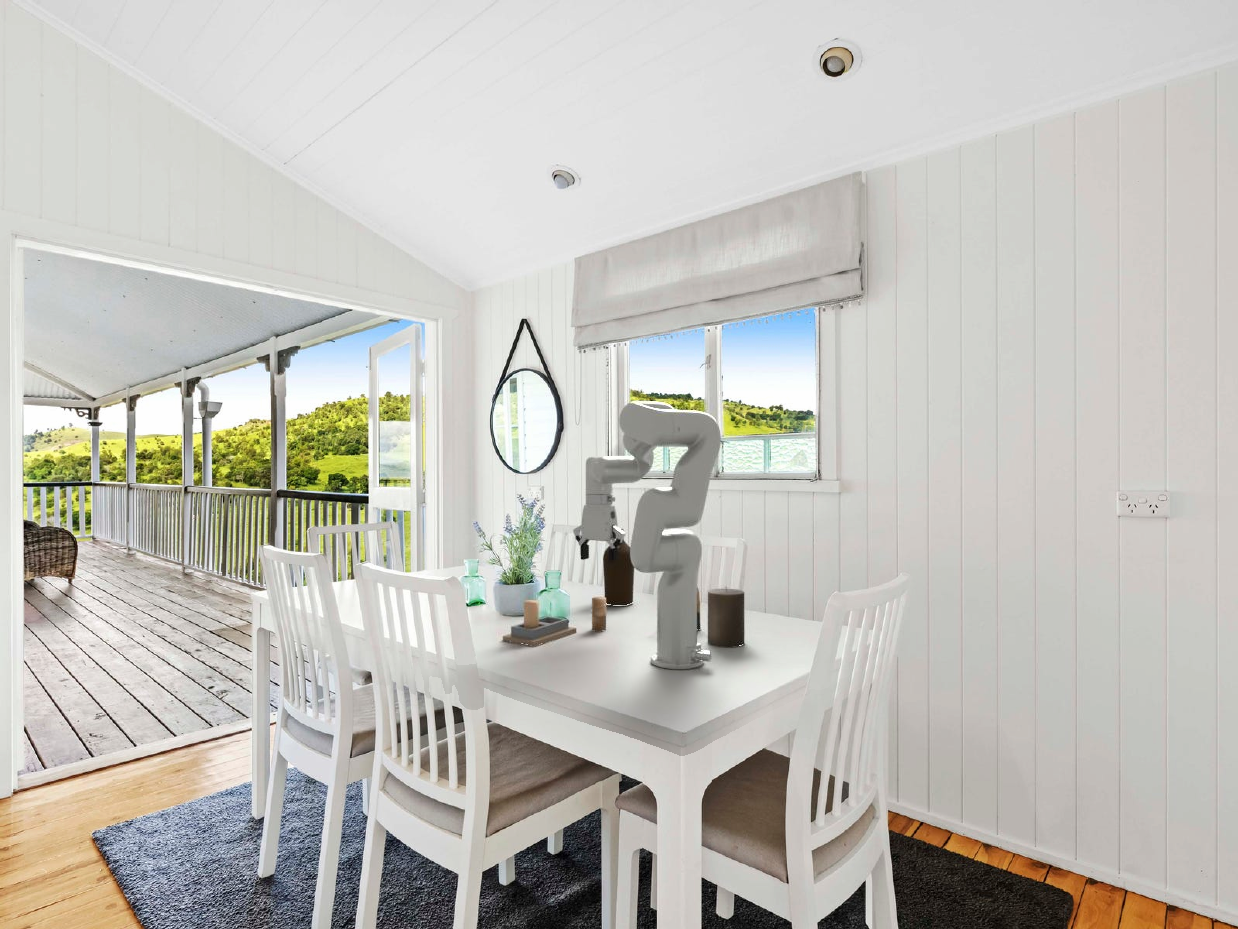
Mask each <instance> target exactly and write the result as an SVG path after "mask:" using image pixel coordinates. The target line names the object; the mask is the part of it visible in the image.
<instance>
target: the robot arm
mask: <svg viewBox="0 0 1238 929" xmlns="http://www.w3.org/2000/svg"><path fill="white" fill-rule="evenodd" d="M618 420H619V421H618V422H619V424H618V425H619V427H620V430H621V432H623V436H622V443H623V446H624V449H625V451H627V452H628V453H629V455H624V456H623V455H613V456H612V455H609V456H608V455H605V456H590V457H588V458H586V460H585V504H584V505H583V508H582V514H581V521H580V522H581V523H580V525H579V526H577V527H575V528H573V529H572V531H573V534H574V536H575V540H576V541H577V542H578V546H580V547H579V548H580V550H579V552H580V554H579V555H580V560H582V561H585V560H588V559H589V558H590V545H589V544H588V543H589V542H590V541H598V542H599V541H600V542H607V544H608V547H609V546H610V547H611V548H609V563H613V562H616V561H617V548H618V547H619V545H620V544H621V543H622V542H623V539H624V540H625V537H626V533H625V532H624V531H622V530H620V529H621V528H619V526H618V517H617V509H616V506H615V505H613V502H614V503H615V502H616V497H615V496H613V484H614V485H615V484H634V483H637V482H639V481H640V480H642V479H643V478H644V477H645V476H646V475H648V473H649V472H650V470H651V469H652V467H653V464H654V458H655V457H654V456H655V455H654V450H655V449H656V448H658V447H665V448H666V447H668V448H669V447H670V448H671V447H674V448H675V447H677V448H678V447H679V448H681V447H682V448H683V447H685V448H686V447H687V450H686V451H685V452H684V453H683V454H682V455H681V457H680V458H679V460H678V461H677V463H676V465H675V467H674V470H673V476H672V478H671V479H672V480H671V483H670V485H669V486H667V487H665V486H664V487H653V488H650V489H649V488H648V490H646V491H645V492H644V493H642V495H641V497H640V498H639V500H638V503H637V508H636V512H635V518H634V523H633V529H632V534H631V540H630V545H629V547H630V557H631V562H632V564H633V566H634V570H636V571H638V572H640V573H644V574H645V573H646V574H649V573H651V574H652V573H653V574H654V573H661V572H663V573H662V574H661V577H660V578H659V581H658V586H657V592H656V594H657V595H656V596H657V597H656V598H657V599H656V601H657V602H656V605H657V606H656V612H657V614H656V618H657V620H656V624H657V625H656V636H657V637H656V638H657V640H656V643H657V646H656V652H654V653H653V654H651V656H650V663H651V664H652V665H654V666H656V667H659V668H661V669H662V668H663V669H668V670H669V669H670V670H688V669H689V670H690V669H695V668H699V667H701V666H702V665H703V664H704V662H708V663H710V662H711V661H712V658H713V656H712V652H711V651H710V650H703V649H702V643H699V642H698V630H697V587H698V583H699V581H698V580H699V579H698V578H699V571H700V564H701V561H702V553H703V552H702V550H703V548H702V543H701V539H700V538H699V537H698V535H697V534H695V532H692V531H691V530H687V529H685V528H690V527H695V526H697V525H698V524H699V523H700V522H701V521H702V517H703V514H704V511H705V505H706V500H707V496H708V491H709V486H710V483H711V482H710V480H711V476H712V472H713V470H714V466H715V464H716V460H717V458H718V455H719V452H720V448H721V444H722V443H721V442H722V436H721V435H722V434H721V430H720V426H719V424H718V422H717V420H716V419H715V418H714V417H713V416H712V415H710V414H709V413H706V412H703V411H699V410H687V409H686V410H685V409H683V410H682V409H681V410H680V409H675V408H674V407H673V406H671V405H670V404H668V403H666V402H661V401H645V400H644V401H642V400H634V401H630V402H628V403H627V404H625V405H624V407H623V408H622V409H621V411H620V414H619V419H618ZM630 455H631V456H630ZM683 528H684V529H683ZM617 537H618V539H617ZM616 539H617V540H616Z"/></svg>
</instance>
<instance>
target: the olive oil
mask: <svg viewBox="0 0 1238 929" xmlns="http://www.w3.org/2000/svg"><path fill="white" fill-rule="evenodd" d="M619 529H620V530H622V531H623V532H624V528H619ZM617 539H618V537H617ZM617 539H616V540H617ZM609 548H611V547H610V546H609V545H608V547H607V548H606V549H605V550H604V553H603V555H602V556H603V557H602V563H603V564H602V565H603V566H602V567H603V582H604V584H603V587H604V597H605V598H606V603H607V604H611V605H627V604H630V603H632V602H633V603H634V585H635V584H634V583H635V582H634V581H635V568H634V566H633V564H632V562H631V557H630V545H629V544H628V543H627V542H626V541H625V538H624V539H623V542H622V543H621V544H620V545H619V547H618V548H617V561H616V562H613V563H609Z"/></svg>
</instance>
